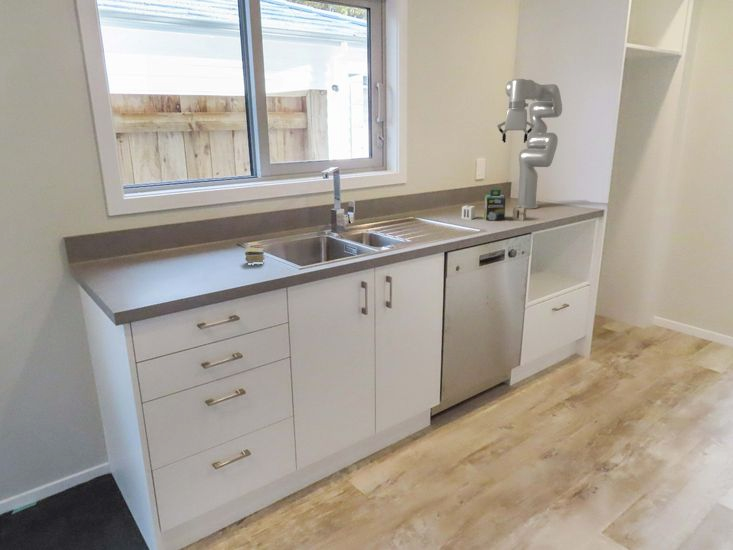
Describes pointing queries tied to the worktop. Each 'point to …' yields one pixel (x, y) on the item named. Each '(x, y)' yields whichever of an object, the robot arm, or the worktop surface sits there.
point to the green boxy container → (495, 206)
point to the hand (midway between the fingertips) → (514, 142)
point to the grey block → (468, 212)
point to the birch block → (519, 213)
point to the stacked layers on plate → (254, 255)
